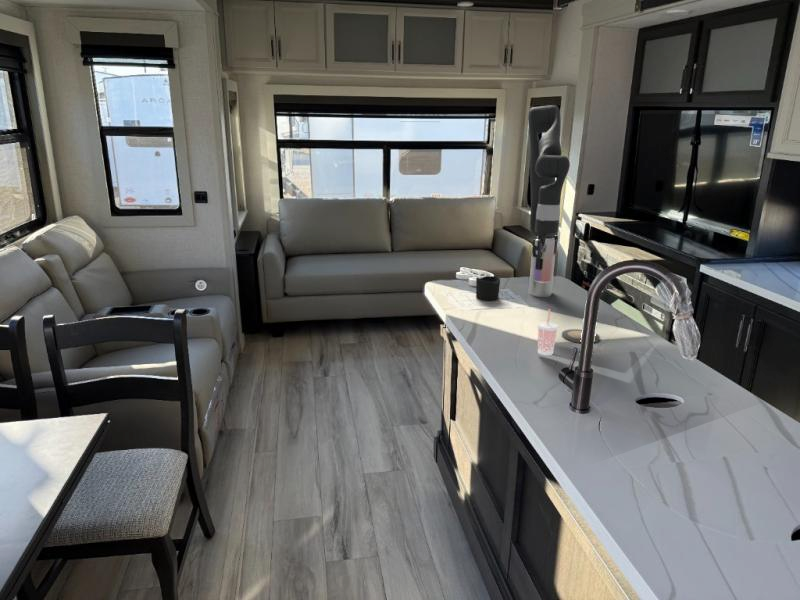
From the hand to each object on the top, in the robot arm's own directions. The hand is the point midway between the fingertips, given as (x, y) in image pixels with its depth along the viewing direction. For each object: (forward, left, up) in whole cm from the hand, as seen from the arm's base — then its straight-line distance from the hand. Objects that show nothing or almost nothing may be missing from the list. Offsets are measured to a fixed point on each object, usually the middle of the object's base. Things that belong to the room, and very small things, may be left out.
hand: (543, 267), depth 188 cm
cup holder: (-35, -47, -22) cm, 63 cm away
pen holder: (-18, -31, -22) cm, 42 cm away
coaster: (-2, +14, -22) cm, 26 cm away
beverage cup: (+19, +11, -22) cm, 31 cm away
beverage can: (0, 0, -5) cm, 5 cm away
